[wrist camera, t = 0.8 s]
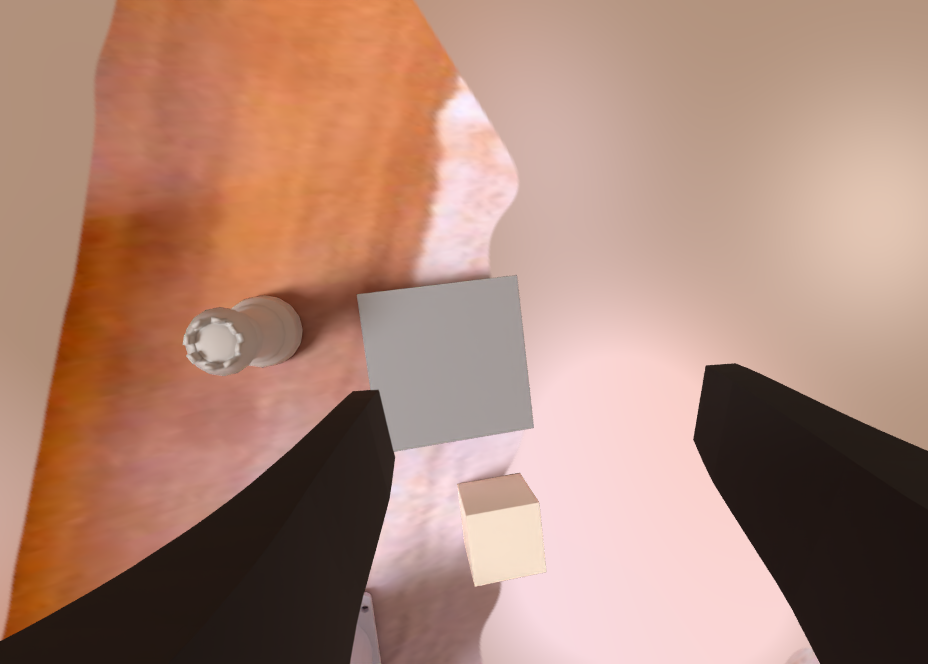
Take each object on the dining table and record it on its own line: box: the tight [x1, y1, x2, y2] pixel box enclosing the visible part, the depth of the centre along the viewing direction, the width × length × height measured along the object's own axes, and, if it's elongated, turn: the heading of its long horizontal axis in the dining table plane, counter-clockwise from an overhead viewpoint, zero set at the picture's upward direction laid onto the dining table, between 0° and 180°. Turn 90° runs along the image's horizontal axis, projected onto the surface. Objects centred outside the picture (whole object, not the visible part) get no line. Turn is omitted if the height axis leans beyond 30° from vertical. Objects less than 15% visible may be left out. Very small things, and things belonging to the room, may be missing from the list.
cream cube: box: [457, 473, 546, 587], centre depth 28 cm, size 4×4×4 cm
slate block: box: [357, 275, 534, 452], centre depth 28 cm, size 10×10×2 cm
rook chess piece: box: [183, 295, 303, 376], centre depth 23 cm, size 4×4×8 cm
